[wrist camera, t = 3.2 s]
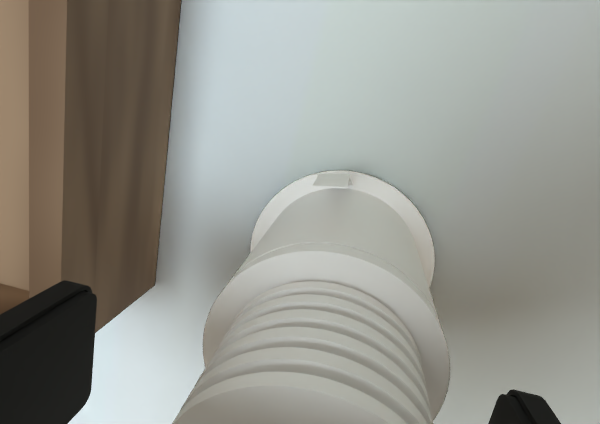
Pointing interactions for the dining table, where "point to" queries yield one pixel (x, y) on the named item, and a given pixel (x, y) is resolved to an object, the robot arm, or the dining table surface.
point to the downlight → (327, 314)
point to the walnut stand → (84, 145)
